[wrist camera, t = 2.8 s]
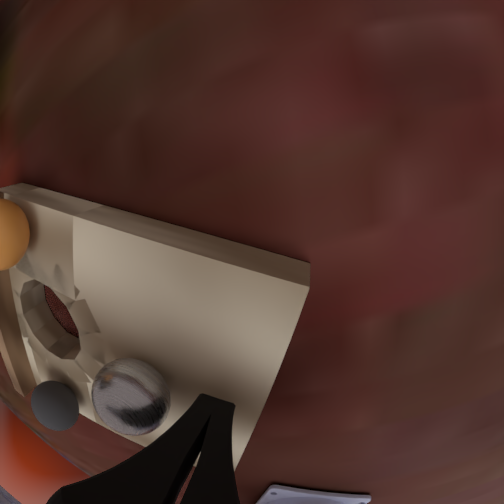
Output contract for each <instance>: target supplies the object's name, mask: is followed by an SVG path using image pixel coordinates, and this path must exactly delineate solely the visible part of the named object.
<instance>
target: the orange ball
mask: <svg viewBox="0 0 504 504" xmlns="http://www.w3.org/2000/svg"><path fill="white" fill-rule="evenodd" d="M29 238H30V229H29V223H28V220H27V217H26V215H25V213H24V212H23V210H22V209H21V208H20V207H19V206H18V205H17V204H16V203H14V202H12V201H10V200H8V199H0V271H2V270H7V269H9V268H11V267H13V266H15V265H16V264H17V263H18V262H19V261H20V260H21V259H22V258H23V256H24V254H25V252H26V250H27V248H28V244H29Z"/></svg>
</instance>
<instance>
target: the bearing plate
mask: <svg viewBox="0 0 504 504" xmlns="http://www.w3.org/2000/svg"><path fill="white" fill-rule="evenodd" d="M0 199H8V200H10V201H12V202H14V203H16V204H17V205H18V206H19V207H20V208H21V209H22V210H23V212H24V213H25V215H26V217H27V220H28V223H29V229H30V238H29V244H28V248H27V250H26V252H25V254H24V256H23V258H22V259H21V260H20V261H19V262H18V263H17V264H16V265H15V266H13V267H11V268H9V269H7V270H2V271H0V351H1V354H2V357H3V360H4V362H5V365H6V368H7V370H8V373H9V376H10V378H11V381H12V383H13V385H14V388H15V390H16V391H17V392H19V393H20V394H21V395H22V396H24V397H25V396H26V395H27V394H28V393H29V392H30V391H31V390H32V389H33V388H34V387H35V386H36V385H39V384H40V383H42V382H44V381H50V380H52V381H58V382H61V383H63V384H64V385H66V386H67V387H68V388H70V389H71V391H72V392H73V393H74V395H75V396H76V398H77V401H78V404H79V413H81V414H82V415H84V416H86V417H87V418H89V419H91V420H93V421H95V422H96V423H98V424H100V425H102V426H104V427H106V428H107V429H109V430H111V431H113V432H115V433H117V434H119V435H121V436H123V437H125V438H127V439H129V440H131V441H134V442H136V443H138V444H140V445H142V446H145V447H147V446H148V445H149V444H151V443H152V442H153V441H155V440H156V439H157V438H158V437H159V436H161V435H162V434H163V433H164V432H165V431H167V430H168V429H169V428H170V427H171V426H172V425H173V424H174V423H175V422H176V421H177V420H178V419H179V418H180V417H181V416H182V415H183V414H184V413H185V412H186V411H187V410H188V409H189V407H190V406H191V405H192V404H193V402H194V401H195V400H196V399H197V397H198V396H199V394H201V393H204V394H207V395H210V396H213V397H216V398H219V399H222V400H225V401H228V402H231V403H234V404H235V410H234V416H233V425H232V455H233V466H234V471H235V469H236V466H237V464H238V462H239V460H240V458H241V456H242V454H243V452H244V450H245V447H246V445H247V443H248V441H249V439H250V436H251V434H252V432H253V430H254V428H255V425H256V423H257V421H258V418H259V416H260V414H261V412H262V409H263V407H264V405H265V402H266V400H267V398H268V395H269V393H270V390H271V388H272V386H273V383H274V381H275V378H276V376H277V373H278V371H279V368H280V366H281V363H282V361H283V358H284V356H285V353H286V351H287V348H288V345H289V343H290V340H291V337H292V335H293V332H294V330H295V327H296V324H297V321H298V319H299V316H300V313H301V310H302V308H303V305H304V302H305V299H306V296H307V294H308V291H309V288H310V263H307V262H304V261H300V260H297V259H293V258H290V257H286V256H283V255H279V254H276V253H272V252H269V251H265V250H262V249H258V248H255V247H251V246H248V245H244V244H241V243H237V242H233V241H230V240H226V239H223V238H219V237H216V236H212V235H209V234H205V233H202V232H198V231H195V230H191V229H187V228H184V227H180V226H177V225H173V224H170V223H166V222H163V221H159V220H155V219H152V218H148V217H145V216H141V215H138V214H134V213H130V212H127V211H123V210H120V209H116V208H112V207H109V206H105V205H102V204H98V203H94V202H91V201H87V200H83V199H80V198H76V197H73V196H69V195H65V194H62V193H58V192H54V191H51V190H47V189H43V188H40V187H36V186H33V185H29V184H25V183H19V184H15V185H11V186H7V187H3V188H0ZM44 285H46V286H48V287H50V288H51V289H52V290H53V292H54V293H55V294H56V295H57V296H58V297H59V299H60V300H61V301H62V302H63V303H64V304H65V306H66V307H67V309H68V311H69V313H70V315H71V317H72V319H73V321H74V323H75V325H76V327H77V329H78V331H79V338H77V337H75V336H73V335H71V334H70V333H68V332H67V331H66V330H65V329H64V328H63V327H62V326H61V325H60V324H59V322H58V321H57V320H56V319H55V318H54V316H53V314H52V312H51V310H50V308H49V306H48V304H47V301H46V299H45V291H44ZM120 358H134V359H139V360H142V361H144V362H146V363H148V364H150V365H151V366H153V367H154V368H155V369H156V370H158V371H159V373H160V374H161V375H162V376H163V377H164V379H165V381H166V383H167V385H168V387H169V391H170V396H171V406H170V410H169V413H168V416H167V418H166V419H165V421H164V422H163V424H162V425H161V426H160V427H159V428H157V429H156V430H154V431H153V432H151V433H148V434H145V435H139V436H130V435H125V434H121V433H119V432H117V431H115V430H113V429H111V428H110V427H109V426H107V425H106V424H105V423H104V422H103V421H102V420H101V419H100V417H99V416H98V414H97V412H96V410H95V408H94V405H93V402H92V393H91V392H92V384H93V381H94V378H95V376H96V375H97V373H98V372H99V370H100V369H101V368H102V367H103V366H105V365H106V364H107V363H109V362H111V361H113V360H116V359H120ZM200 453H201V452H200ZM199 456H200V454H199ZM199 456H198V458H197V460H196V462H195V464H194V465H193V466H196V465H197V462H198V459H199Z"/></svg>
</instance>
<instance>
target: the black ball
mask: <svg viewBox="0 0 504 504" xmlns="http://www.w3.org/2000/svg"><path fill="white" fill-rule="evenodd" d="M31 406H32V410H33V412H34V414H35V416H36V418H37V419H38V420H39V421H40V422H41V423H42V424H43V425H44V426H46V427H47V428H49V429H52V430H57V431H62V430H66V429H69V428H70V427H72V426H73V425H74V424H75V422H76V421H77V419H78V416H79V404H78V401H77V398H76V396H75V395H74V393H73V392H72V391H71V389H70V388H68V387H67V386H66V385H64V384H63V383H61V382H58V381H52V380H50V381H44V382H42V383H40V384H39V385H38V386H37V387H36V388H35V389H34V391H33V393H32V397H31Z"/></svg>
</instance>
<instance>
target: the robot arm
mask: <svg viewBox="0 0 504 504" xmlns="http://www.w3.org/2000/svg"><path fill="white" fill-rule="evenodd" d="M234 410H235V404H234V403H231V402H228V401H225V400H222V399H219V398H216V397H213V396H210V395H207V394H204V393H201V394H199V396H198V397H197V399H196V400H195V401H194V402H193V404H192V405H191V406H190V407H189V409H188V410H187V411H186V412H185V413H184V414H183V415H182V416H181V417H180V418H179V419H178V420H177V421H176V422H175V423H174V424H173V425H172V426H171V427H170V428H169V429H168V430H167V431H165V432H164V433H163V434H162V435H161V436H159V437H158V438H157V439H156V440H155V441H153V442H152V443H151V444H149V445H148V446H147V447H145V448H144V449H143V450H141V451H140V452H138V453H137V454H135V455H134V456H132V457H130V458H129V459H127V460H125V461H124V462H122V463H120V464H118V465H116V466H115V467H113V468H111V469H109V470H106V471H104V472H102V473H100V474H97V475H95V476H93V477H90V478H88V479H85V480H82V481H79V482H76V483H73V484H70V485H66V486H63V487H61V488H60V489H59V490H58V491H56V492H55V493H54V494H53V495H52V497H50V499H49V500H48V502H47V503H46V504H175V502H176V499H177V497H178V494H179V492H180V490H181V488H182V486H183V484H184V482H185V481H186V479H187V477H188V475H189V473H190V471H191V469H192V467H193V465H194V464H195V462H196V460H197V458H198V456H199V454H200V456H199V459H198V462H197V465H196V468H195V470H194V473H193V475H192V477H191V480H190V482H189V484H188V487H187V489H186V491H185V494H184V496H183V498H182V500H181V503H180V504H240V501H239V497H238V492H237V487H236V481H235V475H234V466H233V455H232V425H233V416H234ZM200 452H201V453H200ZM370 501H371V496H370V495H356V494H341V493H330V492H321V491H313V490H306V489H299V488H293V487H287V486H281V485H271V486H270V487H269V488H268V489H267V490H266V492H265V493H264V494H263V495H262V496H261V498H260V499H259V500H258V501H257V503H256V504H367V503H368V502H370ZM0 504H21V503H20V502H19V501H17V500H16V499H15V498H14V497H13V496H12V495H10V494H9V493H8V492H7V491H6V490H5V489H4V488H3V487H1V486H0Z"/></svg>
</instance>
